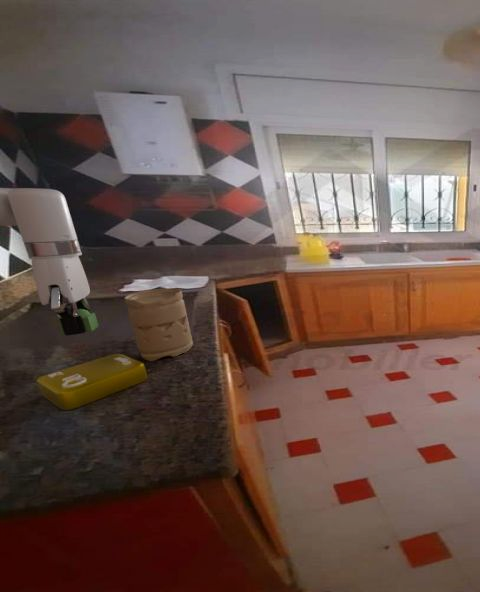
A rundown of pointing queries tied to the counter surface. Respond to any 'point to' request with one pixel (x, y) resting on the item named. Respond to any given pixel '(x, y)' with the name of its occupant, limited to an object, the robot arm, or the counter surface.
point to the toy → (85, 321)
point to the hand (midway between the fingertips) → (80, 329)
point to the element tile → (91, 381)
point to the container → (159, 323)
